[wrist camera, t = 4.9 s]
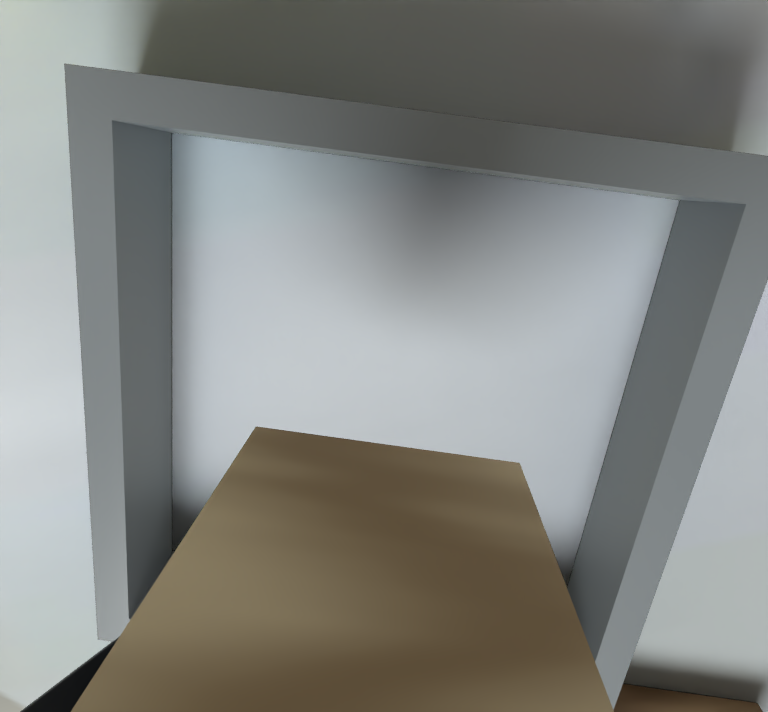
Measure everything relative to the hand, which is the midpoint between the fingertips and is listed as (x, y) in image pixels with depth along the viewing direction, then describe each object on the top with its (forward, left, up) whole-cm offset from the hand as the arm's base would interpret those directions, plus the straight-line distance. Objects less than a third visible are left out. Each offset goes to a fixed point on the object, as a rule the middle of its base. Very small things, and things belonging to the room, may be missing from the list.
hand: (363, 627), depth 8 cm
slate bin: (0, 0, -9) cm, 9 cm away
